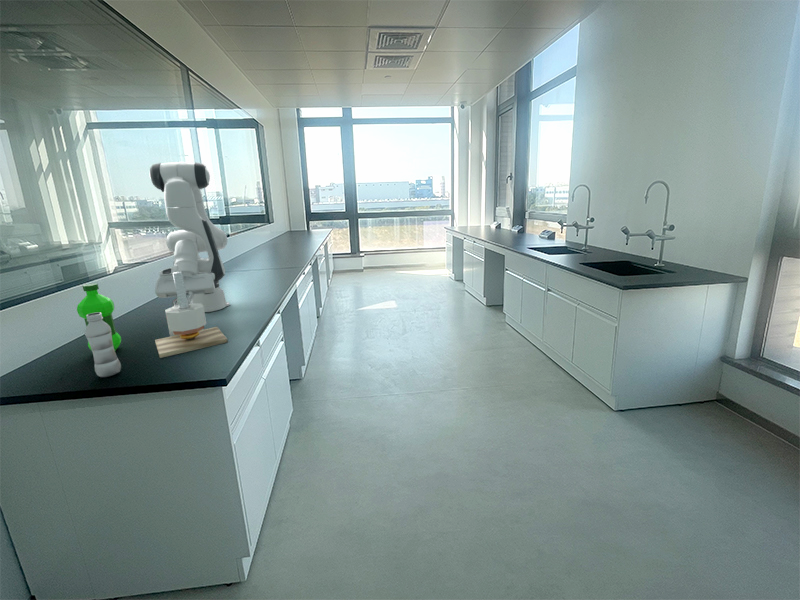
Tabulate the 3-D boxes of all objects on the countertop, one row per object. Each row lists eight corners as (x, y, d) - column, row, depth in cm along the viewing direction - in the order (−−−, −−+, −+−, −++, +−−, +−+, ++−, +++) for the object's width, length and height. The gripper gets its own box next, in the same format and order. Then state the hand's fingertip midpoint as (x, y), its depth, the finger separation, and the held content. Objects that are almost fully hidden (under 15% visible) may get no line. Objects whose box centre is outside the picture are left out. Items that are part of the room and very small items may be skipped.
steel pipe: (179, 338, 148) (166, 272, 141) (198, 334, 152) (186, 270, 145) (182, 343, 143) (168, 275, 136) (201, 339, 146) (188, 272, 140)
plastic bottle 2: (127, 370, 126) (112, 310, 120) (110, 379, 119) (94, 317, 114) (109, 370, 126) (93, 311, 121) (91, 379, 120) (74, 317, 115)
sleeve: (167, 325, 147) (164, 307, 146) (202, 318, 154) (199, 301, 152) (171, 333, 138) (167, 314, 136) (208, 326, 144) (205, 307, 143)
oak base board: (155, 343, 149) (154, 339, 148) (217, 330, 161) (217, 326, 160) (159, 358, 134) (159, 353, 134) (227, 342, 146) (226, 338, 146)
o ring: (172, 329, 148) (171, 325, 147) (201, 323, 153) (200, 319, 153) (175, 336, 140) (174, 332, 139) (205, 330, 145) (205, 326, 145)
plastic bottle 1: (82, 357, 139) (63, 288, 132) (107, 345, 149) (91, 281, 142) (107, 357, 137) (89, 288, 131) (131, 346, 147) (115, 281, 141)
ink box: (170, 338, 153) (162, 303, 149) (174, 332, 161) (167, 298, 157) (180, 337, 154) (173, 301, 150) (184, 331, 162) (177, 297, 158)
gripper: (216, 275, 160) (217, 304, 153) (159, 281, 154) (158, 311, 147) (213, 266, 154) (214, 295, 148) (154, 271, 149) (152, 302, 142)
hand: (185, 303), depth 147 cm, fingers closed
